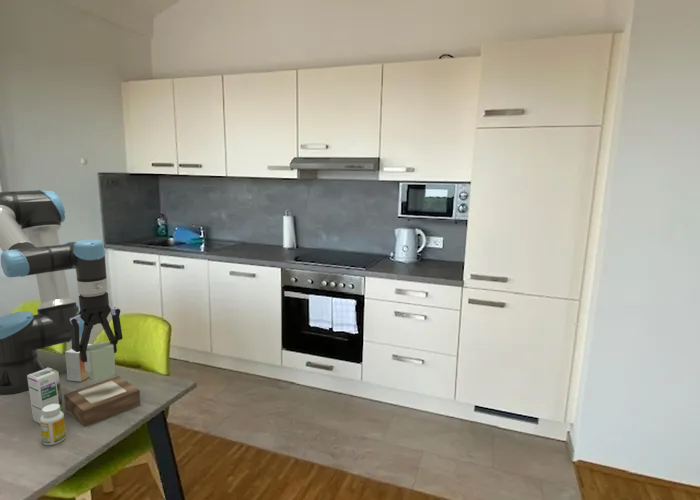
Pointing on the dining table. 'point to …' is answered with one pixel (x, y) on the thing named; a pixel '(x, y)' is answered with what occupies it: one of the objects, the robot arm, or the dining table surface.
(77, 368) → the small box
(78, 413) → the walnut base
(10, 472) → the dining table surface
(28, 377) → the syrup box
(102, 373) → the sage block
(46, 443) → the supplement bottle
